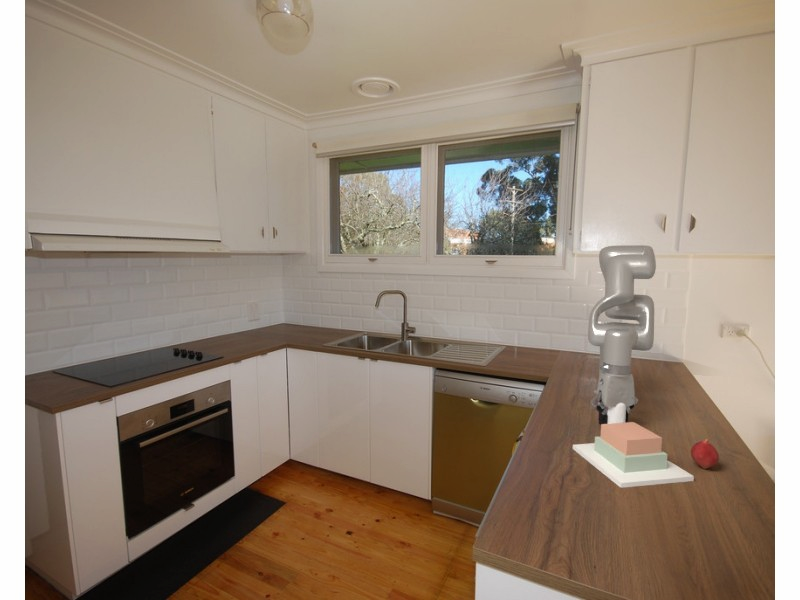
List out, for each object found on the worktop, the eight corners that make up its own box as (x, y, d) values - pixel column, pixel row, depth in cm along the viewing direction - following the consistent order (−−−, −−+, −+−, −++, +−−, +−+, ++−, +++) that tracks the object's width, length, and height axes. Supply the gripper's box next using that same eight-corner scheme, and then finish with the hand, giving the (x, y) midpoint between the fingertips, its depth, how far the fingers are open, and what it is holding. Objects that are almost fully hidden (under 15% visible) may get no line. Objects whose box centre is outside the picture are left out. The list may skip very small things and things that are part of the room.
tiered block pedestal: (572, 448, 115) (574, 418, 114) (634, 444, 118) (636, 414, 117) (620, 487, 96) (623, 451, 95) (693, 480, 99) (696, 445, 98)
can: (603, 428, 130) (605, 392, 128) (626, 433, 125) (628, 396, 124) (598, 434, 125) (600, 397, 123) (621, 440, 120) (624, 402, 119)
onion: (684, 464, 107) (687, 436, 106) (699, 460, 109) (701, 432, 108) (707, 475, 101) (710, 445, 100) (722, 471, 103) (725, 442, 102)
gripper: (598, 373, 118) (595, 431, 120) (650, 371, 120) (646, 428, 122) (583, 366, 125) (580, 421, 127) (632, 364, 128) (629, 418, 130)
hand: (613, 424), depth 125 cm, fingers closed on can, 6 cm apart
